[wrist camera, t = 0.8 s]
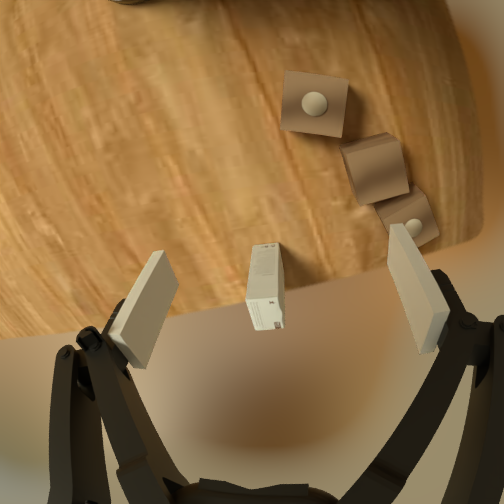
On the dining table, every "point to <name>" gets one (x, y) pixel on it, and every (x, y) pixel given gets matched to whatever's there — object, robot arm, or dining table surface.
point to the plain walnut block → (375, 168)
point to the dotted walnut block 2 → (409, 215)
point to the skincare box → (266, 287)
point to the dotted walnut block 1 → (313, 103)
